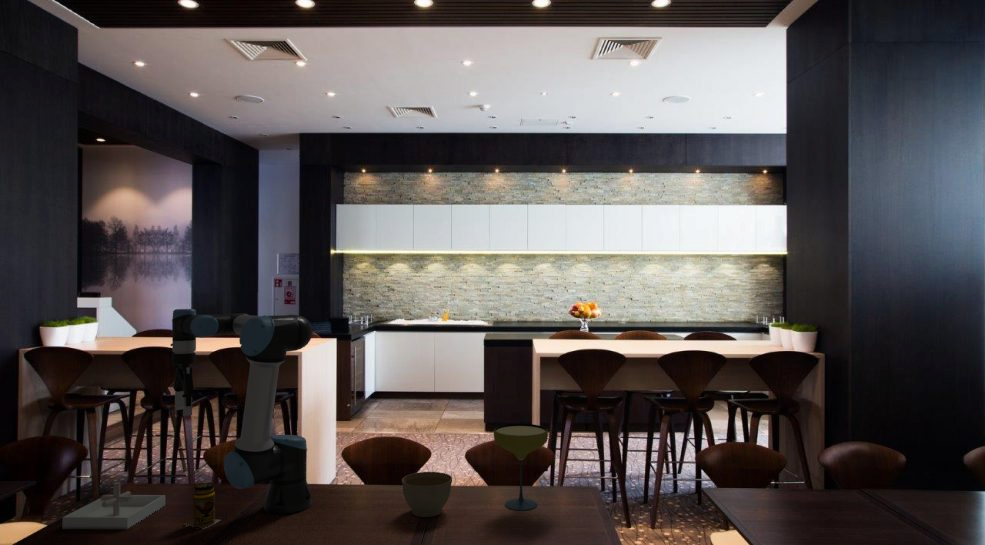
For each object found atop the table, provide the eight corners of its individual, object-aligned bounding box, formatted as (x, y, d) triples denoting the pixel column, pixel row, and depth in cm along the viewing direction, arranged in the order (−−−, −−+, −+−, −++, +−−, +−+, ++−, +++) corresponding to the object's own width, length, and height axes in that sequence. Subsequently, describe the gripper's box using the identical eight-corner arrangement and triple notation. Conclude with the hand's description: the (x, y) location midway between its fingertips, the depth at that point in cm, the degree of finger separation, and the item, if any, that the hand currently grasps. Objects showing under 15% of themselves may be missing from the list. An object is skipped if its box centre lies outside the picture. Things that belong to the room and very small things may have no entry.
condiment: (204, 529, 181) (204, 489, 182) (181, 526, 184) (182, 486, 184) (221, 520, 188) (222, 481, 189) (200, 517, 191) (200, 479, 191)
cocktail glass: (533, 518, 189) (533, 438, 189) (484, 508, 198) (483, 431, 198) (557, 501, 204) (556, 426, 205) (510, 492, 213) (509, 421, 214)
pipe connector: (118, 521, 186) (118, 489, 186) (89, 519, 188) (90, 487, 188) (142, 510, 196) (142, 479, 196) (114, 508, 198) (115, 477, 198)
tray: (165, 505, 202) (165, 495, 202) (127, 529, 182) (127, 517, 182) (106, 505, 202) (106, 494, 202) (62, 529, 182) (62, 517, 182)
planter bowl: (462, 511, 195) (462, 477, 195) (424, 526, 183) (424, 490, 184) (429, 500, 206) (429, 468, 206) (391, 513, 194) (391, 479, 195)
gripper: (165, 350, 222) (164, 408, 221) (179, 356, 202) (179, 419, 201) (187, 349, 226) (187, 406, 226) (204, 354, 207) (203, 416, 206)
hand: (183, 412), depth 214 cm, fingers open, 13 cm apart
